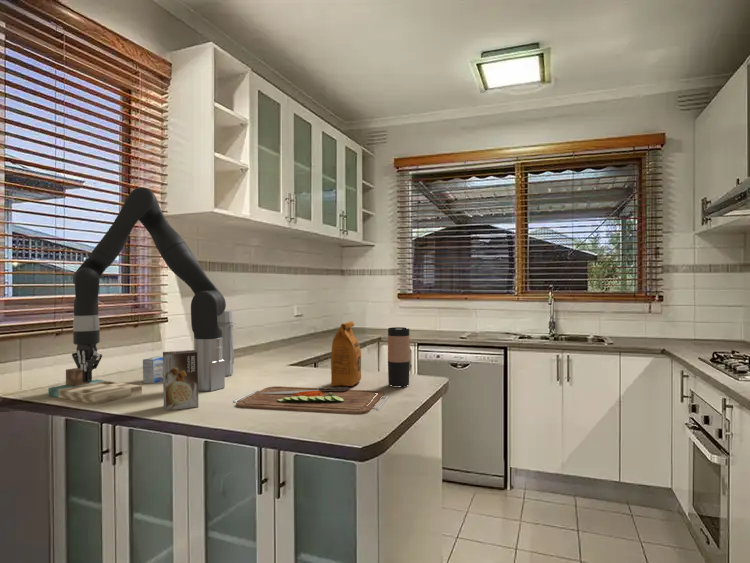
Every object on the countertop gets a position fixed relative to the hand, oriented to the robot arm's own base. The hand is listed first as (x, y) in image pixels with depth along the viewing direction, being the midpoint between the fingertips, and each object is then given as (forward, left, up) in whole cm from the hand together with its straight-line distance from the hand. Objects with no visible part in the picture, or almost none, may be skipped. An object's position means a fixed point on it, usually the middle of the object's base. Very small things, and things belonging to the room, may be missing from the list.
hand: (87, 382), depth 167 cm
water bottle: (-17, -44, -4) cm, 48 cm away
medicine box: (-2, -24, -4) cm, 25 cm away
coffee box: (-41, -2, -4) cm, 41 cm away
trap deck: (-4, 0, -4) cm, 6 cm away
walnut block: (+5, 0, -1) cm, 5 cm away
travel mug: (-84, -59, -4) cm, 103 cm away
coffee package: (-67, -52, -4) cm, 85 cm away
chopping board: (-70, -27, -4) cm, 75 cm away
